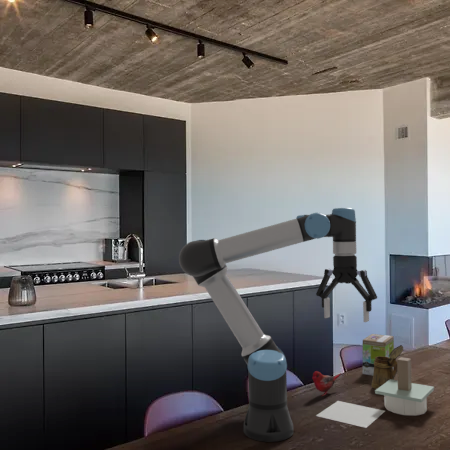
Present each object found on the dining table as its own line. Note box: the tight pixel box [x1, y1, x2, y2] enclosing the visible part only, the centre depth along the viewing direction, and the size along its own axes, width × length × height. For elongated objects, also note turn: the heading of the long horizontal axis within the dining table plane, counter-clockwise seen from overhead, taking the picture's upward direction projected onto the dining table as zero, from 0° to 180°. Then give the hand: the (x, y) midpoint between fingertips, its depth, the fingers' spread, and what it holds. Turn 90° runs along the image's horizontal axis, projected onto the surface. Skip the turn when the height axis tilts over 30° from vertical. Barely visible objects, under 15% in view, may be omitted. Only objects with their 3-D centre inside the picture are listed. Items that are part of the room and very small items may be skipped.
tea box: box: [362, 333, 395, 377], centre depth 207 cm, size 15×10×15 cm, turn 148°
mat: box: [315, 400, 386, 429], centre depth 158 cm, size 17×17×1 cm
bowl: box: [383, 395, 428, 417], centre depth 162 cm, size 13×13×6 cm
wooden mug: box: [370, 344, 404, 390], centre depth 184 cm, size 9×14×18 cm, turn 30°
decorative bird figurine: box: [311, 370, 342, 397], centre depth 178 cm, size 3×18×10 cm, turn 131°
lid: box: [374, 356, 435, 402], centre depth 163 cm, size 15×15×11 cm
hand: (346, 319), depth 157 cm, fingers open, 13 cm apart
